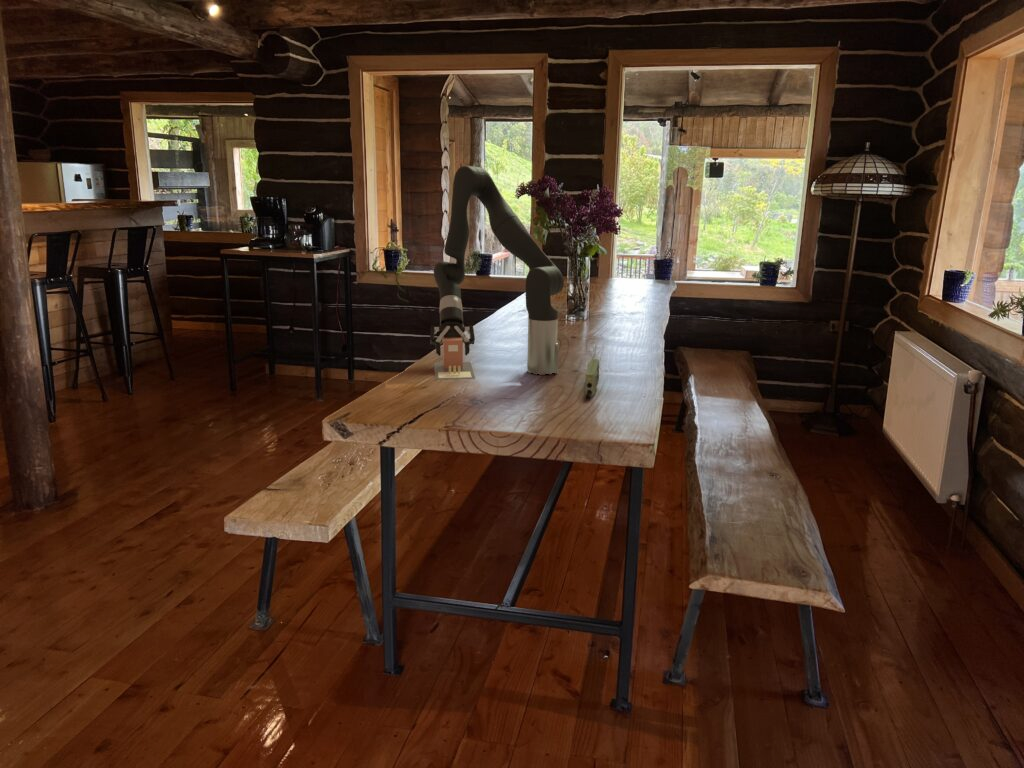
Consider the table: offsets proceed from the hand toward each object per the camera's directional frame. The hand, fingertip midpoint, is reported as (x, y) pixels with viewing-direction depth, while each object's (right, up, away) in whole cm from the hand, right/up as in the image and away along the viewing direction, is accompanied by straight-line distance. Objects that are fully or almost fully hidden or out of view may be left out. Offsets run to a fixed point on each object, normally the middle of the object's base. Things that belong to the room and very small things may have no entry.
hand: (453, 354), depth 231 cm
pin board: (0, -6, -2) cm, 6 cm away
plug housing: (0, -4, +2) cm, 4 cm away
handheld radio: (+42, -11, -18) cm, 47 cm away
